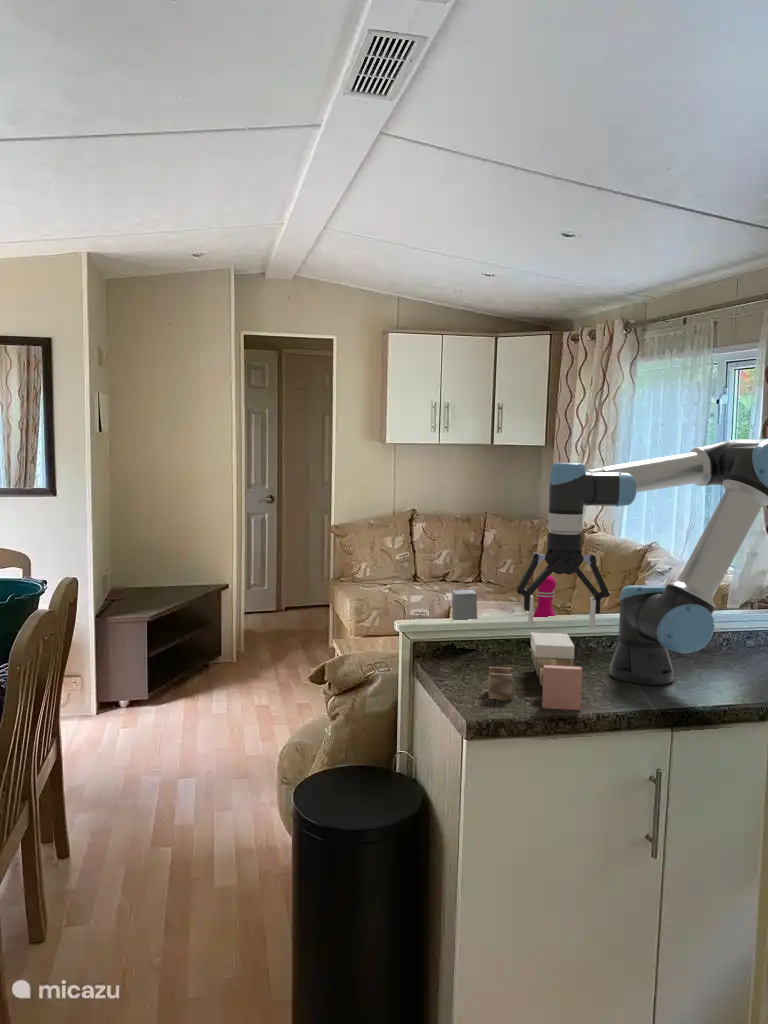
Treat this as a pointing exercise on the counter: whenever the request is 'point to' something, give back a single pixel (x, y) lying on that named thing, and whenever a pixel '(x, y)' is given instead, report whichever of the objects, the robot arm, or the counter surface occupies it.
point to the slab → (552, 645)
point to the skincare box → (464, 604)
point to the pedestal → (500, 683)
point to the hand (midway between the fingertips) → (561, 626)
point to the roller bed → (549, 662)
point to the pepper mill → (545, 598)
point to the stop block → (562, 687)
